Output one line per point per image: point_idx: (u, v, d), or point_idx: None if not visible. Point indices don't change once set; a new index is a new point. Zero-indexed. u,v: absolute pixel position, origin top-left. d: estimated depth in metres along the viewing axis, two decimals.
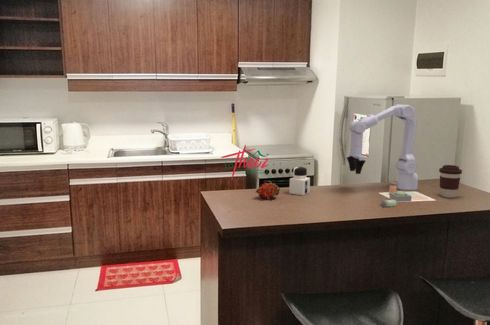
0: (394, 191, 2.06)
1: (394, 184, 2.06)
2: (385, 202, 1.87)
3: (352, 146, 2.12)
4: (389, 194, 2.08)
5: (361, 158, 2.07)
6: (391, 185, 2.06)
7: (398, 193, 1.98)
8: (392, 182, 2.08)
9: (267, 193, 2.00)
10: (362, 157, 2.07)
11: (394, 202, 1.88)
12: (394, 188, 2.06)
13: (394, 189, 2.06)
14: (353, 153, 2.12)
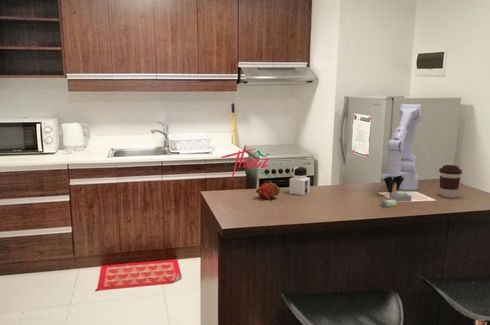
0: (394, 191, 2.06)
1: (394, 184, 2.06)
2: (385, 202, 1.87)
3: None
4: (389, 194, 2.08)
5: (381, 176, 2.04)
6: None
7: (398, 193, 1.98)
8: None
9: (267, 193, 2.00)
10: (382, 175, 2.04)
11: (394, 202, 1.88)
12: (394, 188, 2.06)
13: (394, 189, 2.06)
14: (388, 171, 2.08)
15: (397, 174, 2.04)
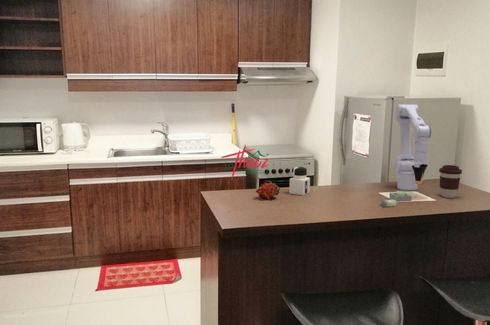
0: None
1: None
2: (385, 202, 1.87)
3: (414, 152, 2.00)
4: (416, 183, 2.01)
5: (416, 165, 1.94)
6: None
7: (398, 193, 1.98)
8: None
9: (267, 193, 2.00)
10: (417, 164, 1.94)
11: (394, 202, 1.88)
12: (422, 176, 2.00)
13: (422, 177, 2.00)
14: (414, 159, 1.99)
15: (426, 161, 1.98)
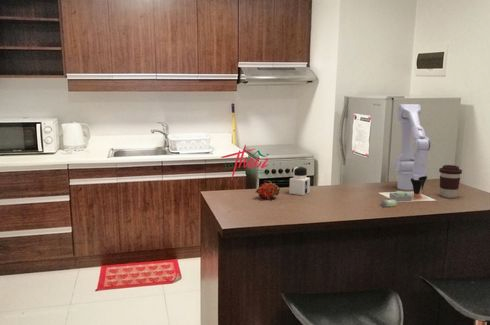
0: None
1: (421, 186, 2.01)
2: (385, 202, 1.87)
3: (413, 164, 2.01)
4: (415, 197, 2.02)
5: (415, 178, 1.95)
6: None
7: (398, 193, 1.98)
8: None
9: (267, 193, 2.00)
10: (417, 177, 1.95)
11: (394, 202, 1.88)
12: (421, 190, 2.01)
13: (421, 191, 2.01)
14: (414, 172, 2.00)
15: (425, 174, 1.99)
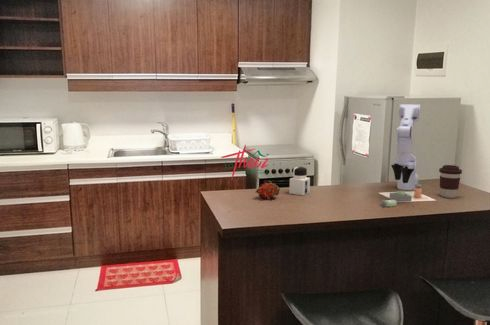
0: (421, 193, 2.02)
1: (421, 186, 2.01)
2: (385, 202, 1.87)
3: (399, 153, 1.94)
4: (415, 197, 2.02)
5: (410, 166, 1.89)
6: (419, 188, 2.00)
7: (398, 193, 1.98)
8: (417, 184, 2.02)
9: (267, 193, 2.00)
10: (412, 165, 1.89)
11: (394, 202, 1.88)
12: (421, 190, 2.01)
13: (421, 191, 2.01)
14: (400, 160, 1.94)
15: None
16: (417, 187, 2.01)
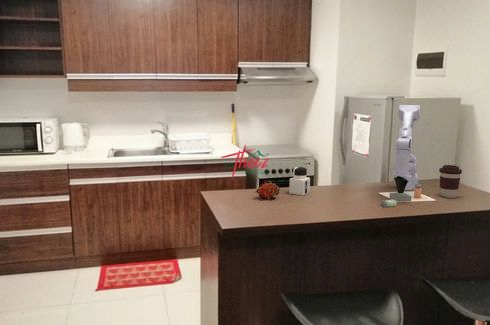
0: None
1: (421, 186, 2.01)
2: (385, 202, 1.87)
3: (398, 165, 1.95)
4: (416, 197, 2.02)
5: (410, 178, 1.90)
6: (419, 188, 2.00)
7: (398, 194, 1.98)
8: (417, 184, 2.02)
9: (267, 193, 2.00)
10: (411, 177, 1.90)
11: (394, 202, 1.88)
12: (421, 190, 2.01)
13: (421, 191, 2.01)
14: (399, 172, 1.95)
15: None
16: (417, 187, 2.00)
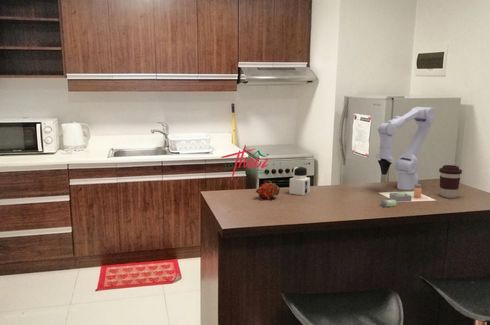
0: None
1: (421, 186, 2.01)
2: (385, 202, 1.87)
3: (382, 148, 2.10)
4: (416, 197, 2.02)
5: (392, 160, 2.06)
6: (419, 187, 2.01)
7: (398, 194, 1.98)
8: (416, 184, 2.02)
9: (267, 193, 2.00)
10: (393, 159, 2.06)
11: (394, 202, 1.88)
12: None
13: None
14: (383, 155, 2.10)
15: None
16: (417, 187, 2.01)
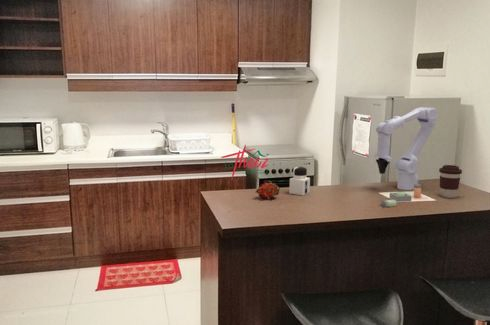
0: (420, 193, 2.02)
1: None
2: (385, 202, 1.87)
3: (380, 147, 2.13)
4: (416, 197, 2.01)
5: (389, 159, 2.08)
6: (419, 187, 2.01)
7: (398, 194, 1.98)
8: (416, 184, 2.02)
9: (267, 193, 2.00)
10: (390, 158, 2.08)
11: (394, 202, 1.88)
12: None
13: (420, 191, 2.02)
14: (381, 154, 2.13)
15: None
16: (417, 187, 2.01)
